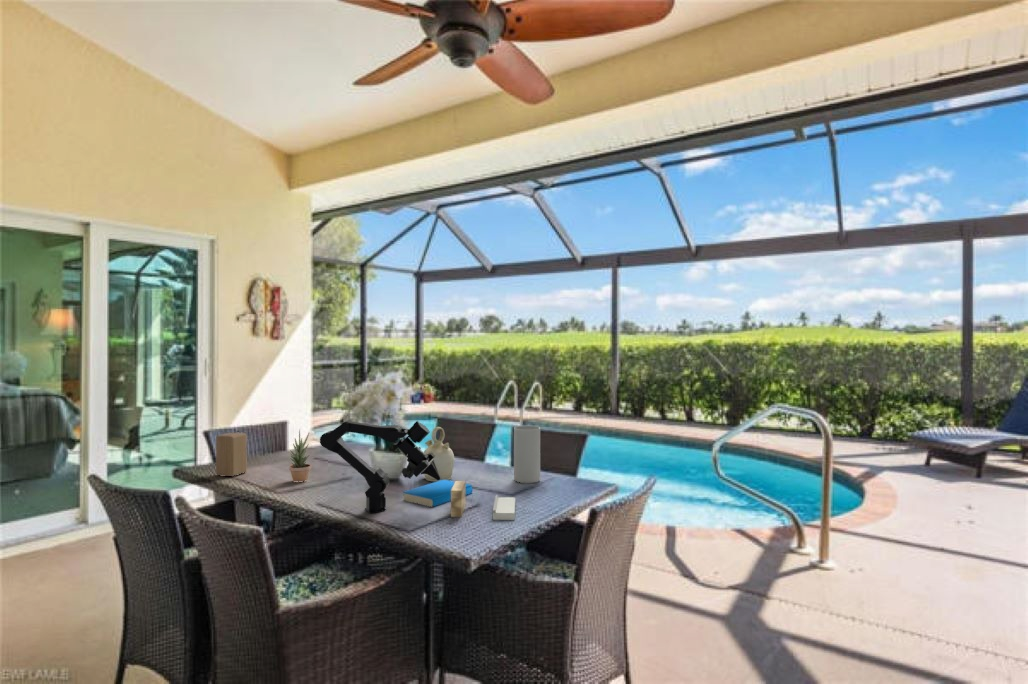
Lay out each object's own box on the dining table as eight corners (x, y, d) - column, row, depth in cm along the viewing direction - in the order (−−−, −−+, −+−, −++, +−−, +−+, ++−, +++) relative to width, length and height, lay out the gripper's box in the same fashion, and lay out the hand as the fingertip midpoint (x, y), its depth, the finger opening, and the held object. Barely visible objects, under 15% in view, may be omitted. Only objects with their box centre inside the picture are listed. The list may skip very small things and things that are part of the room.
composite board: (492, 519, 204) (492, 510, 204) (495, 503, 224) (495, 494, 224) (514, 519, 203) (514, 510, 203) (515, 503, 223) (515, 495, 223)
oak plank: (450, 517, 207) (451, 490, 207) (455, 505, 221) (455, 480, 221) (461, 517, 207) (461, 490, 207) (465, 505, 221) (465, 481, 221)
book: (402, 491, 228) (443, 478, 249) (403, 502, 228) (443, 488, 249) (433, 498, 218) (472, 484, 239) (433, 509, 218) (472, 494, 239)
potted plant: (314, 478, 263) (314, 427, 262) (305, 484, 253) (305, 430, 253) (294, 478, 264) (294, 426, 263) (284, 483, 254) (284, 430, 254)
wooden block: (215, 476, 267) (215, 435, 267) (231, 471, 276) (231, 432, 276) (231, 477, 264) (231, 436, 264) (247, 473, 273) (247, 433, 273)
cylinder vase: (530, 485, 252) (530, 430, 252) (508, 480, 259) (508, 428, 259) (545, 479, 262) (545, 427, 262) (524, 475, 269) (524, 424, 269)
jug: (416, 478, 264) (416, 426, 264) (444, 473, 274) (444, 423, 274) (431, 484, 252) (431, 430, 252) (460, 479, 262) (460, 427, 262)
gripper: (402, 460, 223) (429, 487, 223) (391, 471, 205) (420, 501, 205) (421, 441, 223) (448, 468, 223) (412, 450, 205) (441, 479, 205)
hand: (439, 479), depth 214 cm, fingers closed
